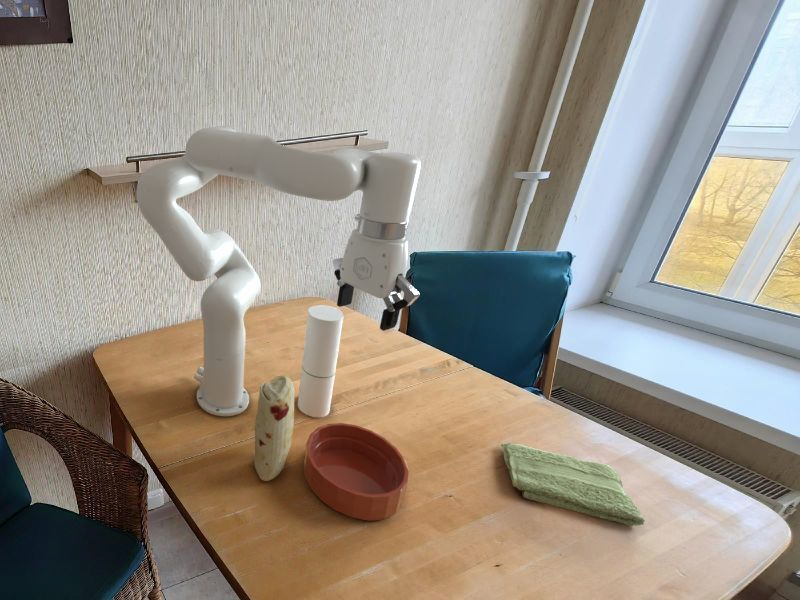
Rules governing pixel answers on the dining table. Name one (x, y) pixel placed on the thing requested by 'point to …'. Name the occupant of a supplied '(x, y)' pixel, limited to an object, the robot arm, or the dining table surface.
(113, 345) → the dining table surface
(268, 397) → the food model
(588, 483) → the washcloth
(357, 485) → the bowl
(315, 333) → the cylindrical container
